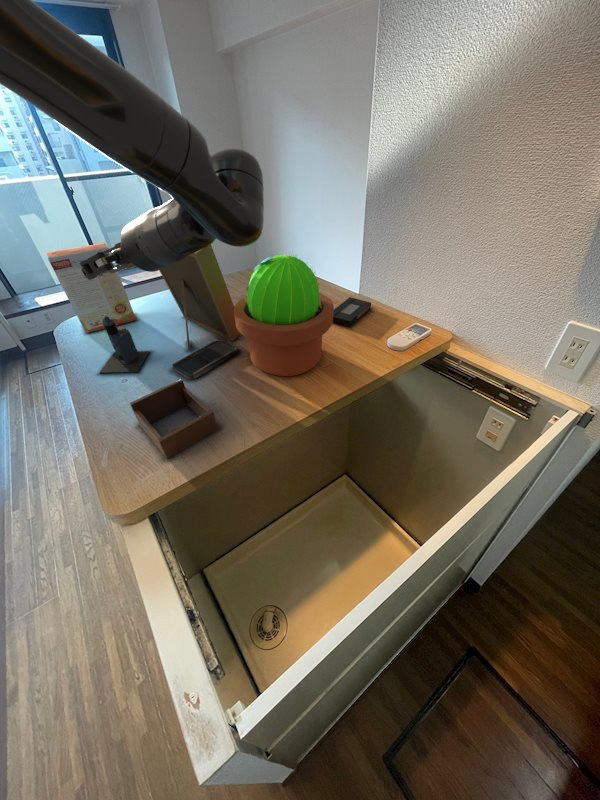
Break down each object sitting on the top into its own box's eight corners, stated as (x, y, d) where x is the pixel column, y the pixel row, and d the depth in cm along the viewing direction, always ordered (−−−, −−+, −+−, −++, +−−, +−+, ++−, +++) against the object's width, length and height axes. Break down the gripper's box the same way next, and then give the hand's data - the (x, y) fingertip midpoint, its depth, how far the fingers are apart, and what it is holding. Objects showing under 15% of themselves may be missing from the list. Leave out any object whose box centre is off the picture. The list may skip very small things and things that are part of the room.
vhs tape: (370, 308, 102) (371, 302, 100) (349, 327, 93) (350, 321, 92) (349, 303, 105) (349, 297, 104) (326, 320, 96) (327, 314, 95)
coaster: (100, 373, 78) (99, 372, 77) (115, 353, 84) (114, 351, 84) (137, 373, 78) (137, 371, 77) (150, 352, 84) (149, 351, 84)
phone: (238, 348, 83) (190, 376, 74) (239, 352, 84) (191, 380, 75) (217, 339, 87) (169, 364, 78) (218, 342, 87) (171, 368, 79)
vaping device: (118, 364, 80) (97, 319, 72) (133, 352, 84) (114, 309, 76) (126, 366, 79) (106, 321, 71) (141, 354, 83) (123, 310, 75)
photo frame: (195, 312, 101) (174, 223, 85) (244, 334, 91) (230, 237, 74) (153, 331, 93) (120, 236, 76) (201, 358, 82) (174, 254, 66)
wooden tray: (217, 428, 63) (211, 406, 59) (167, 458, 58) (156, 436, 54) (188, 400, 70) (181, 378, 66) (140, 425, 64) (129, 402, 60)
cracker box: (132, 313, 102) (105, 241, 88) (137, 321, 98) (109, 247, 84) (83, 325, 96) (45, 250, 82) (85, 334, 92) (46, 257, 78)
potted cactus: (345, 349, 84) (354, 246, 68) (298, 395, 71) (296, 281, 54) (277, 327, 94) (270, 232, 77) (224, 364, 80) (202, 258, 63)
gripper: (180, 206, 54) (127, 237, 63) (105, 221, 44) (55, 255, 53) (201, 253, 57) (148, 276, 66) (136, 277, 47) (84, 300, 56)
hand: (107, 266), depth 59 cm, fingers open, 8 cm apart
